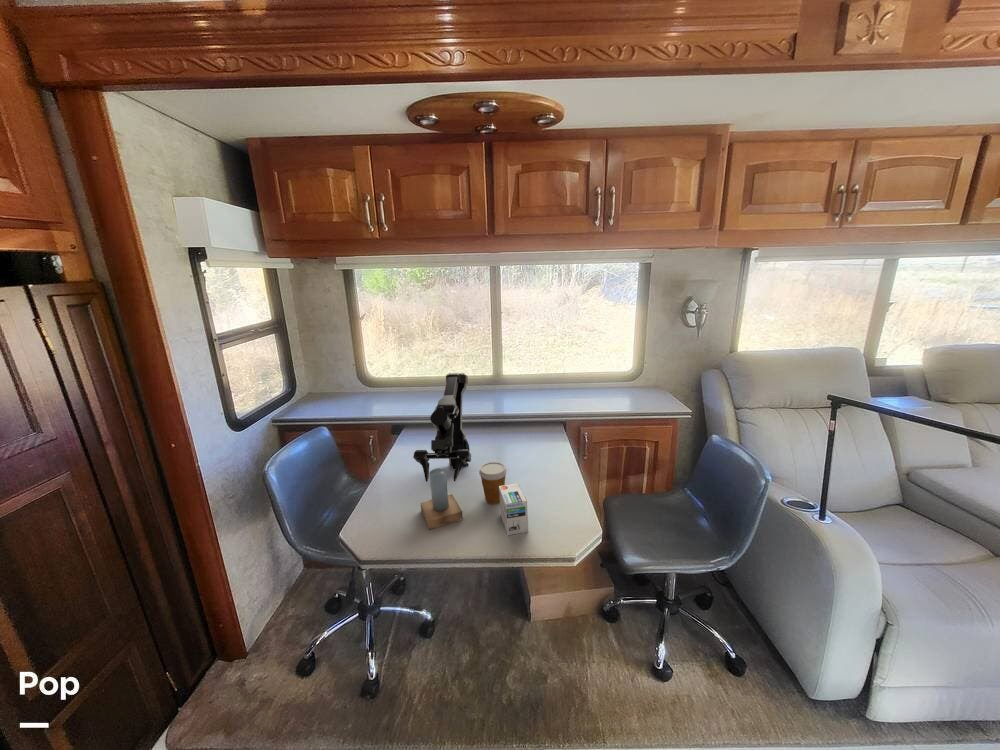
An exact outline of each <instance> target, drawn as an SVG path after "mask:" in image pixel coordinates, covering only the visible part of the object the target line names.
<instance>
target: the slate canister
mask: <svg viewBox="0 0 1000 750" xmlns="http://www.w3.org/2000/svg"><path fill="white" fill-rule="evenodd" d="M429 483H430V484H429V485H430V493H431V500H432V504H433V510H435V511H437V512H441V511H445V510H447V509H448V508H449V500H448V495H449V491H448V479H447V471H446V469H444V468H439V467H438V468H434V469H432V470H429Z"/></svg>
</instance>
